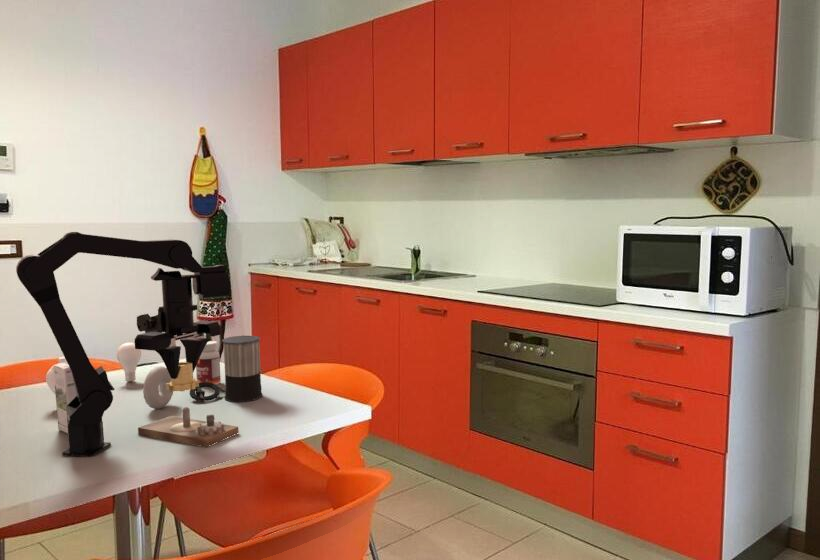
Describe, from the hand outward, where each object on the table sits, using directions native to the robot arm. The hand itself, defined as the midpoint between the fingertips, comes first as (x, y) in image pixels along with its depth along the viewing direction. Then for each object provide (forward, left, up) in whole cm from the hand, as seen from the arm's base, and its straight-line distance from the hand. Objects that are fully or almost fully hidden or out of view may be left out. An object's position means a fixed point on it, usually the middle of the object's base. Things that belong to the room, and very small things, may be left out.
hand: (182, 376), depth 141 cm
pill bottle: (+40, +13, -12) cm, 44 cm away
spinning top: (+17, +39, -12) cm, 44 cm away
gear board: (-1, -1, -12) cm, 12 cm away
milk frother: (+27, +2, -12) cm, 30 cm away
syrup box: (0, +25, -12) cm, 28 cm away
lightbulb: (+41, +36, -12) cm, 56 cm away
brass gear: (0, 0, -2) cm, 2 cm away
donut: (+17, +15, -12) cm, 26 cm away
